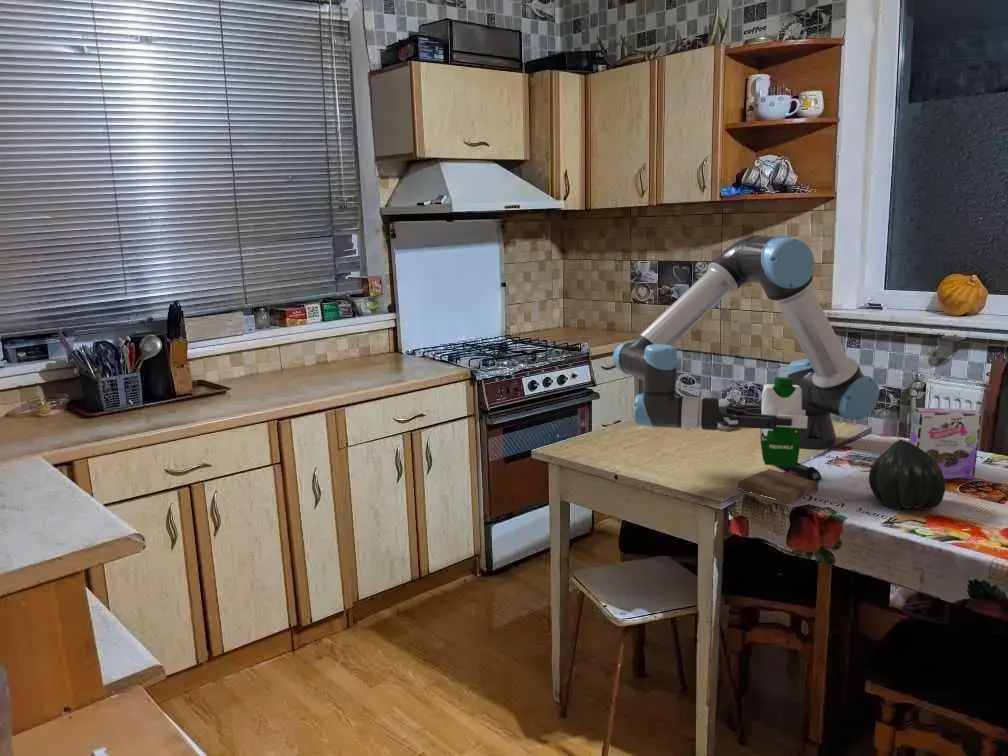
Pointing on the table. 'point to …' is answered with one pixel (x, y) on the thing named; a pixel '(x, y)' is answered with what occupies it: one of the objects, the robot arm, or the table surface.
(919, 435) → the candy box
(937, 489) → the squash
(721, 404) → the ceramic mug
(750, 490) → the board
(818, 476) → the electric trimmer
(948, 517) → the table surface
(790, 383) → the milk carton
